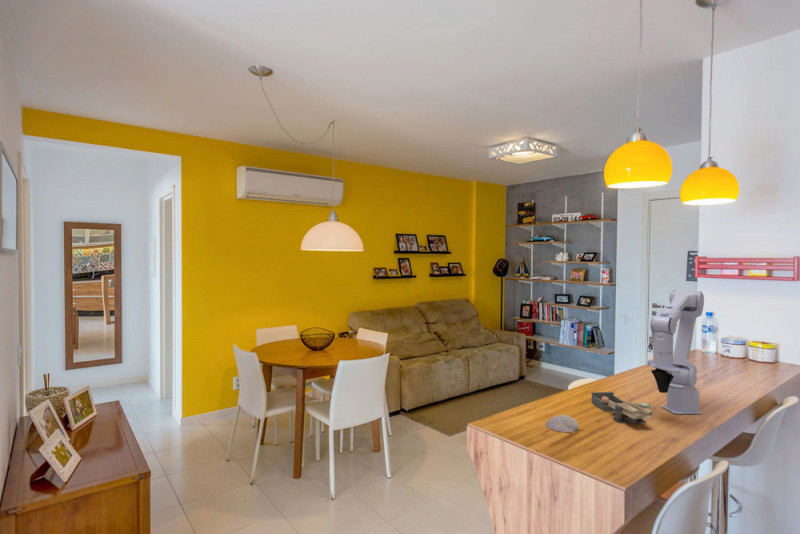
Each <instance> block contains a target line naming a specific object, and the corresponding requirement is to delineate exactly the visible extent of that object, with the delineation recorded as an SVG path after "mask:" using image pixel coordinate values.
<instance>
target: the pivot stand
mask: <svg viewBox="0 0 800 534" xmlns="http://www.w3.org/2000/svg"><path fill="white" fill-rule="evenodd" d="M637 406H639V405H637ZM639 407H641V406H639ZM641 408H643V407H641ZM643 409H644V408H643ZM612 420H613V421H614V422H617V424H646V423H647V421H646V420H644V419H633V418H631V417H629V416H628V417H627V416H626V417H622V413H621V408H620V407H619V406H615V411H614V417H612Z"/></svg>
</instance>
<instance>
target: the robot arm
mask: <svg viewBox="0 0 800 534" xmlns="http://www.w3.org/2000/svg"><path fill="white" fill-rule="evenodd" d="M704 296H705V295H704V293H703V292H702V291H699V290H697V291H694V290H691V291H690V290H676V289H673V290H671V291H670V293H669V297H668V298H669V299H668V300H669V304H667V305H665V307H663V309H662V310H661V311H660V312H659V314H658V315H655V316H652V318H651V319H650V322H649V323H650V324H649V326H650V327H649V328H650V332H651V338H653V339H652V342H653V343H652V346H653V347H652V348H653V351H652V353H653V355H652V358H653V359H647V367H651V368H653V369H651V370H650V371H651V373H652V375H653V377H654V379H655V383H656V385H657V390H658V391H659V393H661V394H663V393H664V394H666V405H665V404H664V405H661V408H663V409H664V410H666V411H668V412H670V413H672V414H674V415H695V414H697V415H700V414H702V412H701V411H700V392H699V390H698V389H697V387H696V384H697V379H698V378H697V367H696V365H695V364H694V363H692V362H691V361H690V356H691V355H690V354H691V350H692V349H691V347H692V343H693V336H694V330H695V325H696V324H695V323H696V321H697V320H696V319H697V318H698V317H701V316H702V314H703V311H704V305H705V297H704ZM678 322H679V323H678ZM677 327H678V328H677ZM676 330H677V334H676ZM674 334H676V340H675V346H674ZM654 368H655V369H654Z"/></svg>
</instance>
